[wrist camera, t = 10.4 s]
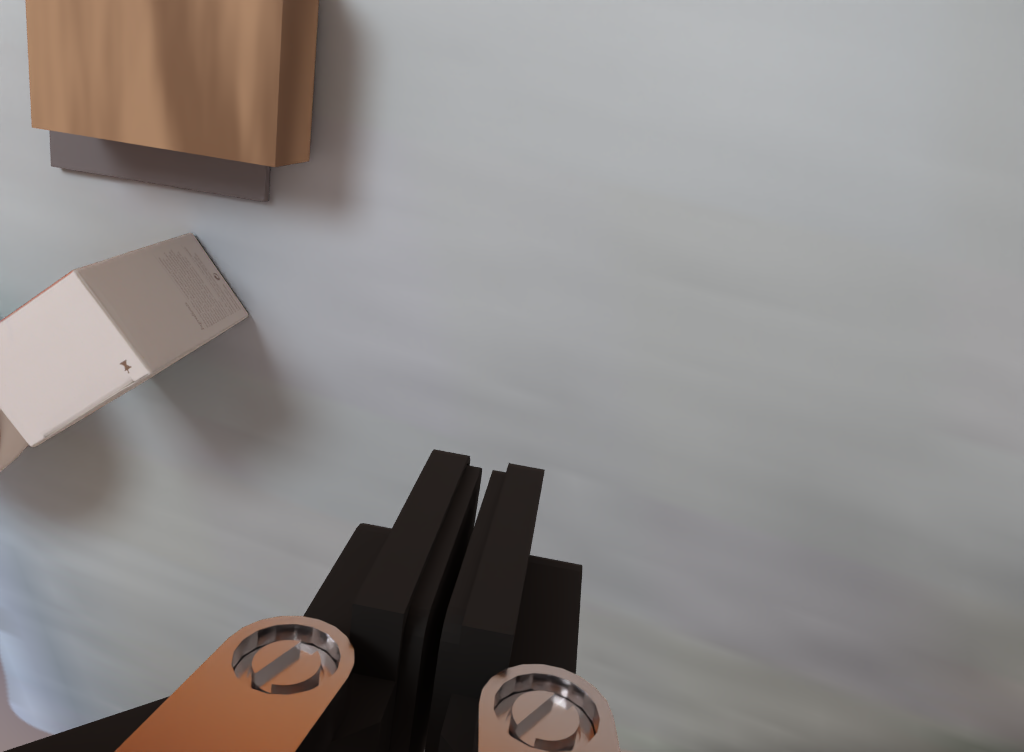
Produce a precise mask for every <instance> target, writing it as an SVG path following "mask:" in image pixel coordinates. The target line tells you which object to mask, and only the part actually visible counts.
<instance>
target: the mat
mask: <svg viewBox="0 0 1024 752" xmlns="http://www.w3.org/2000/svg"><path fill="white" fill-rule="evenodd" d="M50 152H51V166H53V167H59V168H65V169H71V170H77V171H83V172H89V173H95V174H101V175H107V176H113V177H119V178H125V179H131V180H136V181H142V182H148V183H154V184H160V185H166V186H172V187H178V188H184V189H190V190H196V191H202V192H208V193H214V194H220V195H226V196H232V197H238V198H244V199H250V200H256V201H262V202H265V201H269V184H270V166H265V165H259V164H252V163H246V162H240V161H234V160H228V159H222V158H216V157H210V156H204V155H198V154H191V153H185V152H179V151H173V150H167V149H161V148H155V147H149V146H143V145H137V144H130V143H124V142H118V141H112V140H106V139H100V138H94V137H88V136H82V135H76V134H69V133H63V132H57V131H51V130H50Z"/></svg>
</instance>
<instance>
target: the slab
mask: <svg viewBox="0 0 1024 752" xmlns="http://www.w3.org/2000/svg"><path fill="white" fill-rule="evenodd" d="M318 6H319V0H26V19H27V39H28V59H29V79H30V99H31V119H32V127H33V128H39V129H45V130H51V131H57V132H63V133H69V134H76V135H82V136H88V137H94V138H100V139H106V140H112V141H118V142H124V143H130V144H137V145H143V146H149V147H155V148H161V149H167V150H173V151H179V152H185V153H191V154H198V155H204V156H210V157H216V158H222V159H228V160H234V161H240V162H246V163H252V164H259V165H265V166H271V167H279V166H285V165H290V164H296V163H301V162H307V161H309V155H310V138H311V122H312V105H313V89H314V72H315V55H316V39H317V22H318Z"/></svg>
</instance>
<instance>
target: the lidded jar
mask: <svg viewBox="0 0 1024 752" xmlns="http://www.w3.org/2000/svg"><path fill="white" fill-rule="evenodd" d="M28 445H29V444H28V443H27V442H26V441H25V439H24V438H23V437H22V435H21V434H20V433H19V432H18V430H17V429H16V428H15V427H14V425H13V424H12V423H11V421H10V420H9V419H8V418H7V416H6V415H5V414H4V412H3V411H2V410H1V409H0V472H1V471H2V470H3V469H5V468H6V467H7V466H8V465H9V464H11V463H12V462H13V461H14V460H15V459H17V457H18V456H19V455H20V454H21V453H22V452H23V451H24V450H25V448H26V447H27V446H28Z"/></svg>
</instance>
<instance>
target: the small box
mask: <svg viewBox="0 0 1024 752" xmlns="http://www.w3.org/2000/svg"><path fill="white" fill-rule="evenodd" d="M247 317H248V313H247V311H246V310H245V309H244V307H243V306H242V304H241V303H240V301H239V300H238V299H237V297H236V296H235V294H234V293H233V291H232V290H231V288H230V287H229V285H228V284H227V283H226V281H225V280H224V278H223V277H222V275H221V274H220V273H219V271H218V270H217V268H216V267H215V265H214V264H213V263H212V261H211V260H210V258H209V257H208V255H207V254H206V252H205V251H204V249H203V248H202V246H201V245H200V244H199V242H198V241H197V239H196V238H195V236H194V235H193V234H192V233H188V234H185V235H182V236H179V237H175V238H172V239H169V240H166V241H163V242H159V243H156V244H153V245H150V246H147V247H144V248H141V249H137V250H134V251H131V252H128V253H125V254H122V255H119V256H116V257H113V258H110V259H106V260H103V261H100V262H97V263H94V264H91V265H87V266H84V267H81V268H78V269H74V270H72V271H71V272H69V273H68V274H67V275H65V276H64V277H62V278H61V279H59V280H58V281H57V282H55V283H54V284H52V285H51V286H50V287H48V288H47V289H45V290H44V291H42V292H41V293H40V294H38V295H37V296H35V297H34V298H32V299H31V300H30V301H28V302H27V303H25V304H24V305H23V306H21V307H20V308H18V309H17V310H16V311H14V312H13V313H11V314H10V315H8V316H7V317H5V318H4V319H3V320H1V321H0V409H1V410H2V411H3V412H4V414H5V415H6V416H7V418H8V419H9V420H10V421H11V423H12V424H13V425H14V427H15V428H16V429H17V430H18V432H19V433H20V434H21V435H22V437H23V438H24V439H25V441H26V442H27V443H28V444H29V445H30V446H31V447H36V446H38V445H40V444H41V443H43V442H45V441H46V440H48V439H50V438H51V437H53V436H55V435H56V434H58V433H60V432H61V431H63V430H65V429H66V428H68V427H70V426H71V425H73V424H75V423H76V422H78V421H80V420H81V419H83V418H85V417H86V416H88V415H90V414H91V413H93V412H95V411H96V410H98V409H100V408H101V407H103V406H105V405H106V404H108V403H110V402H111V401H113V400H115V399H116V398H118V397H120V396H121V395H123V394H125V393H126V392H128V391H130V390H132V389H133V388H135V387H137V386H138V385H140V384H142V383H143V382H145V381H146V380H148V379H150V378H151V377H153V376H154V375H156V374H158V373H159V372H161V371H162V370H164V369H166V368H167V367H169V366H170V365H172V364H173V363H175V362H177V361H178V360H180V359H181V358H183V357H184V356H186V355H188V354H189V353H191V352H193V351H194V350H196V349H197V348H199V347H201V346H202V345H204V344H205V343H207V342H209V341H210V340H212V339H214V338H215V337H217V336H218V335H220V334H221V333H223V332H225V331H226V330H228V329H229V328H231V327H233V326H234V325H236V324H237V323H239V322H240V321H242V320H244V319H245V318H247Z"/></svg>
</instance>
